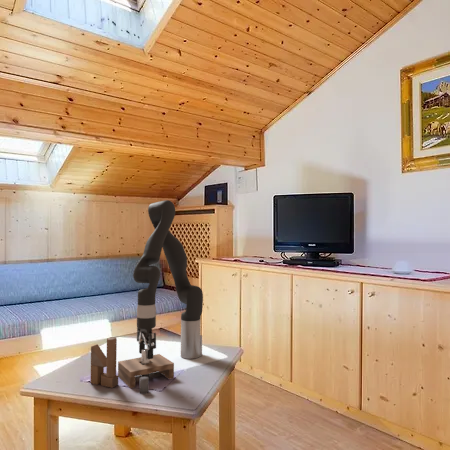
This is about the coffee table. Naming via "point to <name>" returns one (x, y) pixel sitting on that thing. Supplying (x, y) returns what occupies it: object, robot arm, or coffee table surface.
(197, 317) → the robot arm
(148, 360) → the long pin
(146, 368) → the brown block with hole
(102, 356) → the brown angled frame
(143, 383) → the short pin
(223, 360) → the coffee table surface
